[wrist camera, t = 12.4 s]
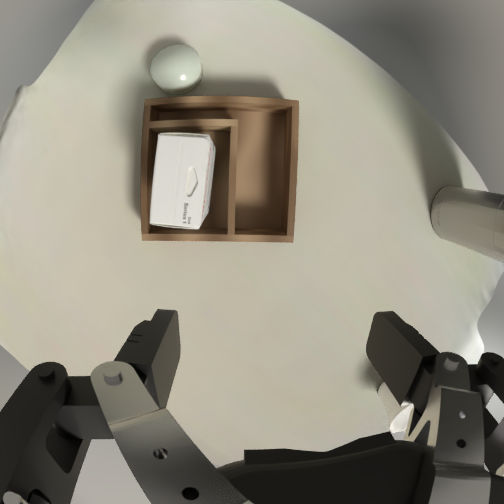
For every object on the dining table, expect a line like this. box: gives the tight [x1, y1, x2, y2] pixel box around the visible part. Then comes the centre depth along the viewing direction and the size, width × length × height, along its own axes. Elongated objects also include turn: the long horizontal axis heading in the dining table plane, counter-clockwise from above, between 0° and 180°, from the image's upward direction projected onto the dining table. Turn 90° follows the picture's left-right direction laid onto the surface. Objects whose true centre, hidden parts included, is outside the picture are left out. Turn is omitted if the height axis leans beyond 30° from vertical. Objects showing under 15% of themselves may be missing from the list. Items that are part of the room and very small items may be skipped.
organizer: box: [141, 96, 299, 243], centre depth 32 cm, size 18×17×4 cm
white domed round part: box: [150, 44, 203, 95], centre depth 29 cm, size 6×6×4 cm
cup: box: [378, 382, 414, 433], centre depth 42 cm, size 9×9×10 cm
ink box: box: [150, 133, 216, 229], centre depth 28 cm, size 9×5×12 cm, turn 173°
